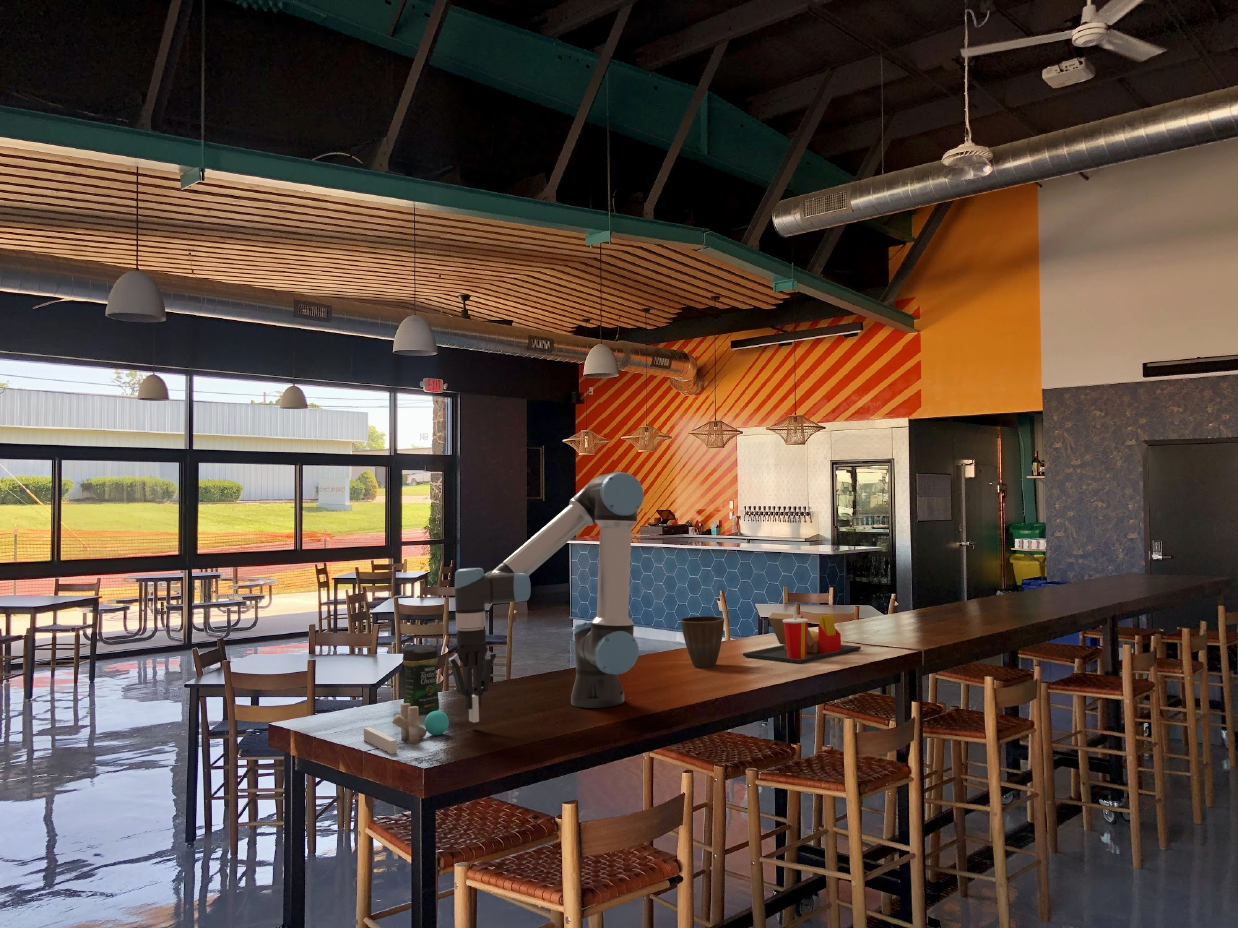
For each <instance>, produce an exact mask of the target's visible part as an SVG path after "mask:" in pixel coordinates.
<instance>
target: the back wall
mask: <svg viewBox="0 0 1238 928" xmlns="http://www.w3.org/2000/svg"><path fill="white" fill-rule="evenodd" d="M364 740H365V741H364ZM363 741H364V742H366V741H367V743H368V742H369V743H368V744H370V743H371V744H370V745H372V744H373V745H372V746H374V745H375V746H374V747H376V746H377V747H376V748H377V749H380V750H382V749H383V750H382V751H384V750H385V751H387V752H388V753H387V752H386V753H387V754H389V753H390V754H389V755H394V753H395V754H398V743H397V739H395V738H394V737H391V736H389V735H387V734H385V733H382V732H381V731H378V730H377V729H374V728H372V727H371V726H367V727H363ZM385 751H384V752H385Z"/></svg>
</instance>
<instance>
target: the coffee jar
mask: <svg viewBox="0 0 1238 928" xmlns="http://www.w3.org/2000/svg"><path fill="white" fill-rule="evenodd" d="M438 661H439V655H438V648H437V647H436V645H430V644H425V645H416V646H411V647H407V648H404V650H403V653H402V665H403V667H404V693H403V704H404V703H410V707H412V706H418V715H419V716H422V715H428V714H429V713H431V712H433V711H440V700H439V698H440V697H439V690H438V682H437V665H438Z"/></svg>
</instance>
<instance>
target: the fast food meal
mask: <svg viewBox="0 0 1238 928" xmlns="http://www.w3.org/2000/svg"><path fill="white" fill-rule="evenodd" d="M792 612H793V613H792V614H791V613H779V612H771V614H770V615H769V616H768V617H767V619H768V621H769V623H770V625H771V628H772V630H773V632H774V634H775V638H776V640H777V642H778V643H779V645H777V646H772V647H767V648H762V649H758V650H757V649H756V650H751V651H748V652H747V651H746V652H743V653H742V656H743V657H745V658H751V659H752V658H753V659H758V660H759V659H760V660H767V661H768V660H769V661H774V662H775V661H777V662H784V663H791V664H792V663H793V664H801V665H802V664H805V663H809V662H814V661H817V660H818V661H819V660H822V659H828V658H832V657H836V656H840V655H844V654H849V653H853V652H857V651H859V650H861V649H862V648H861V647H862V646H860V645H859V646H858V645H850V644H849V645H848V644H842V639H841V637H842V636H841V635H842V634H841V633H840V631H839V630H838V629H837V628H836V625H835V620H834V619H835V618H834V614H833V613H831V614H824V615H820V616H819V615H818V621H819V625H817V629H818V631H816V630H811V629H809V626H808V622H809V619H807V618H805V617H804V616H803V614H797V607H796V606H793V611H792Z"/></svg>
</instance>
